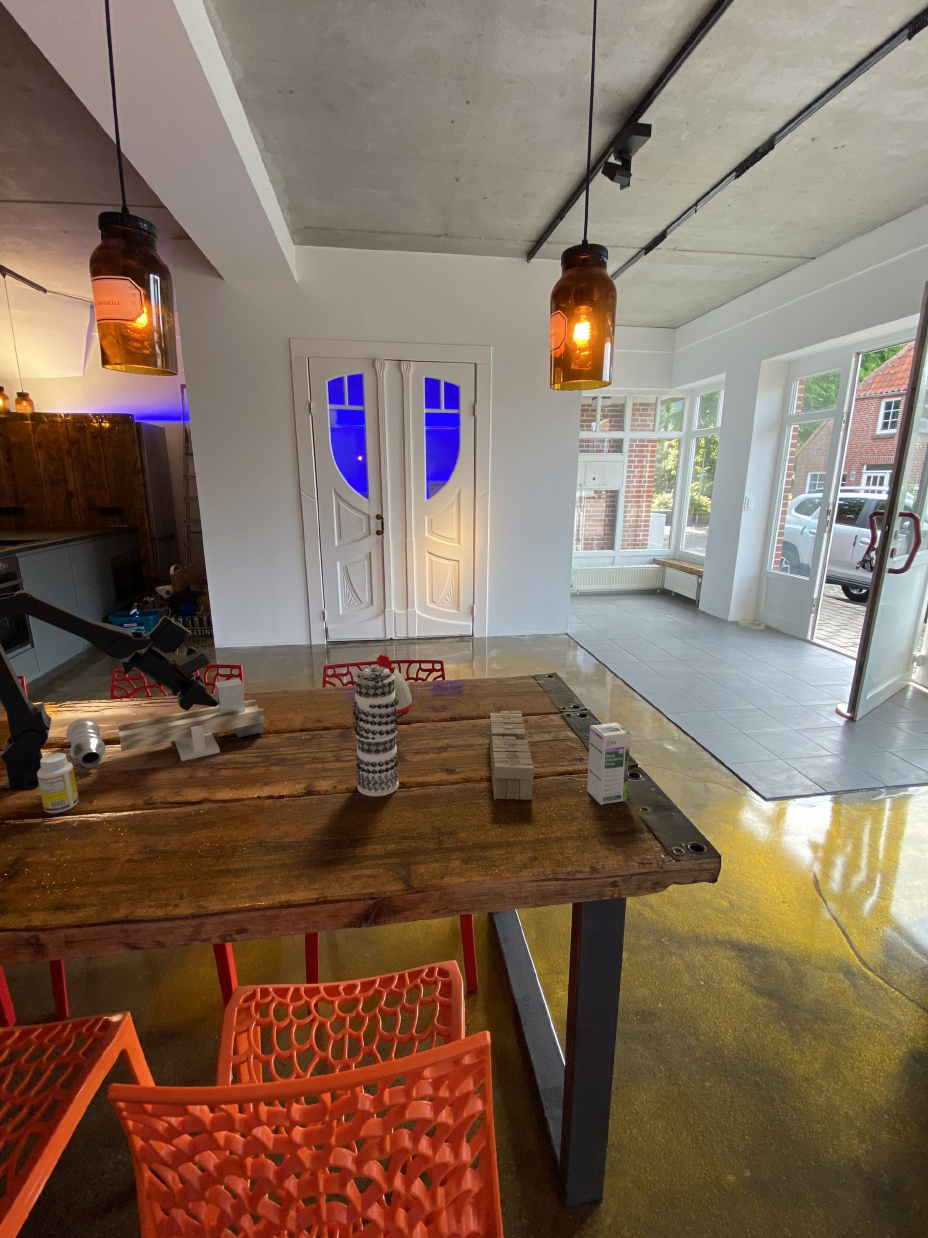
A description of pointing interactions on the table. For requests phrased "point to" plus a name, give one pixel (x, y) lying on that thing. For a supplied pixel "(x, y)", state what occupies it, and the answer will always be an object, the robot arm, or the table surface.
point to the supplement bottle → (57, 783)
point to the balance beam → (189, 726)
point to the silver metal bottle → (85, 742)
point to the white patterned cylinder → (376, 731)
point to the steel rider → (230, 697)
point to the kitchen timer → (398, 685)
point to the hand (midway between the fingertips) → (217, 704)
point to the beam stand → (197, 744)
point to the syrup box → (608, 763)
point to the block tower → (510, 757)
